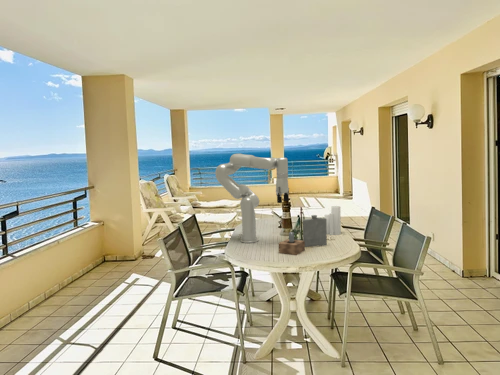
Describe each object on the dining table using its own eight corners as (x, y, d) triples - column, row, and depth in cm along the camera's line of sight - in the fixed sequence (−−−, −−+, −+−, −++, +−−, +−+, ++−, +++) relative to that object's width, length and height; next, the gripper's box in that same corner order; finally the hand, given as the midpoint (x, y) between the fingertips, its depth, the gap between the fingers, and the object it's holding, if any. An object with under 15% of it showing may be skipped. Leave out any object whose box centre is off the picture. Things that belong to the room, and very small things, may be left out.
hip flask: (304, 247, 254) (303, 216, 252) (302, 245, 258) (301, 215, 256) (327, 245, 257) (327, 215, 255) (325, 243, 261) (324, 214, 259)
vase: (339, 232, 293) (339, 206, 291) (341, 234, 286) (341, 207, 284) (324, 233, 293) (323, 206, 291) (326, 235, 286) (325, 208, 284)
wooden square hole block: (278, 252, 243) (278, 243, 242) (287, 248, 253) (287, 239, 252) (296, 255, 236) (296, 245, 236) (304, 250, 246) (304, 240, 246)
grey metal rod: (288, 251, 244) (288, 232, 243) (290, 250, 247) (290, 231, 246) (293, 252, 242) (292, 233, 241) (295, 251, 245) (294, 232, 244)
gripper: (283, 175, 271) (283, 199, 273) (271, 177, 256) (271, 203, 258) (293, 175, 267) (293, 200, 269) (281, 177, 253) (282, 203, 254)
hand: (282, 201), depth 263 cm, fingers open, 9 cm apart
